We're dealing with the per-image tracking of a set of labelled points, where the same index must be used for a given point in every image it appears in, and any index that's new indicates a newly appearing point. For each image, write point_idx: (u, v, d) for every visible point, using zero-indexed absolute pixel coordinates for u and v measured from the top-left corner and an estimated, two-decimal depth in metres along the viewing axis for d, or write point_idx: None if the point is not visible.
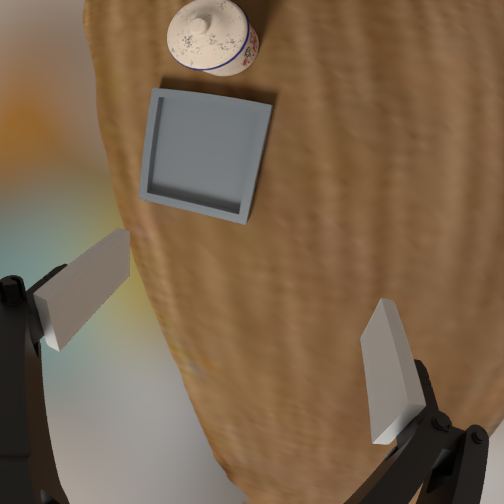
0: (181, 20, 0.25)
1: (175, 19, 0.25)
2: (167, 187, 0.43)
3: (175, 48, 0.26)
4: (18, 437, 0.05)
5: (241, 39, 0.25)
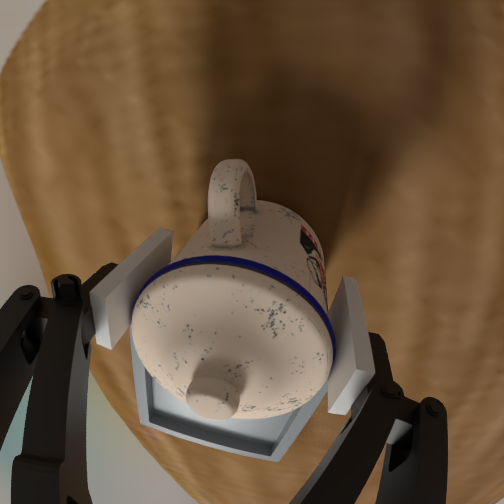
0: (160, 337, 0.11)
1: (143, 319, 0.12)
2: (175, 416, 0.30)
3: (160, 380, 0.13)
4: (53, 441, 0.05)
5: (313, 393, 0.12)
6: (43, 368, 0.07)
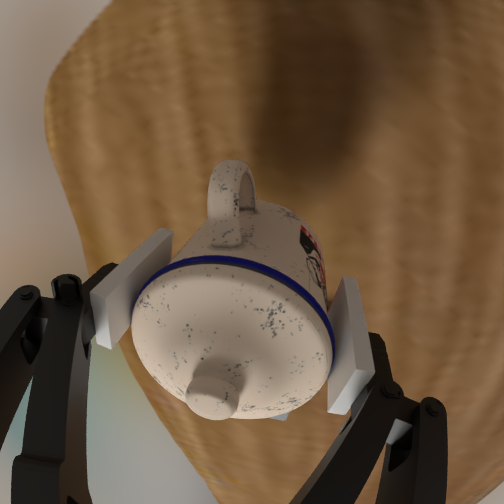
0: (160, 337, 0.11)
1: (143, 318, 0.12)
2: None
3: (160, 379, 0.13)
4: (53, 441, 0.05)
5: (313, 393, 0.12)
6: (43, 368, 0.07)
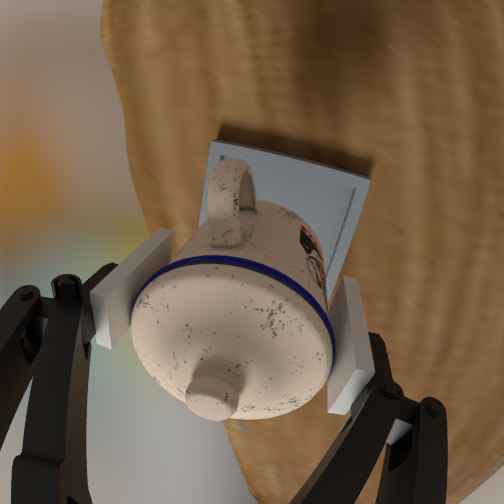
0: (159, 337, 0.11)
1: (142, 319, 0.12)
2: None
3: (160, 380, 0.13)
4: (53, 441, 0.05)
5: (313, 394, 0.12)
6: (43, 368, 0.07)
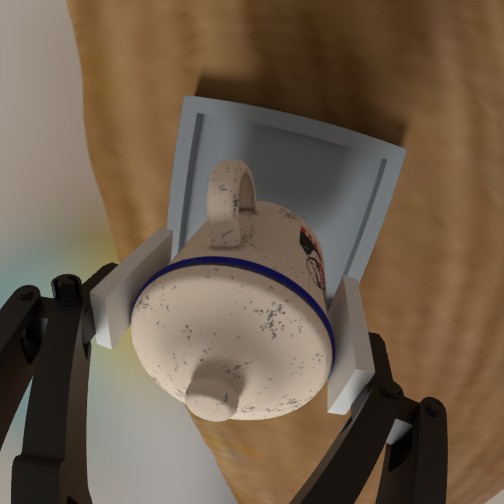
0: (159, 338, 0.11)
1: (142, 320, 0.12)
2: None
3: (160, 380, 0.13)
4: (53, 441, 0.05)
5: (313, 394, 0.12)
6: (43, 368, 0.07)
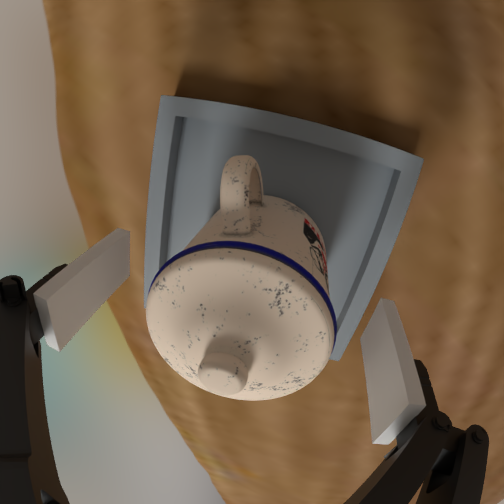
0: (174, 317, 0.13)
1: (158, 301, 0.13)
2: None
3: (172, 361, 0.14)
4: (18, 437, 0.05)
5: (316, 373, 0.13)
6: None
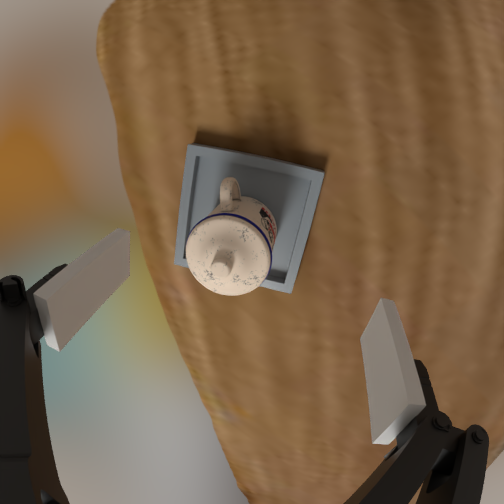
0: (200, 246, 0.30)
1: (193, 240, 0.31)
2: None
3: (196, 273, 0.32)
4: (18, 437, 0.05)
5: (264, 274, 0.31)
6: None
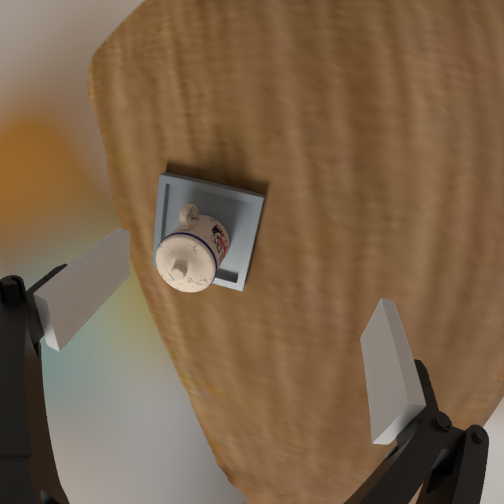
0: (164, 256, 0.41)
1: (160, 251, 0.41)
2: None
3: (163, 275, 0.43)
4: (18, 437, 0.05)
5: (211, 277, 0.42)
6: None
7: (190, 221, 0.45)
